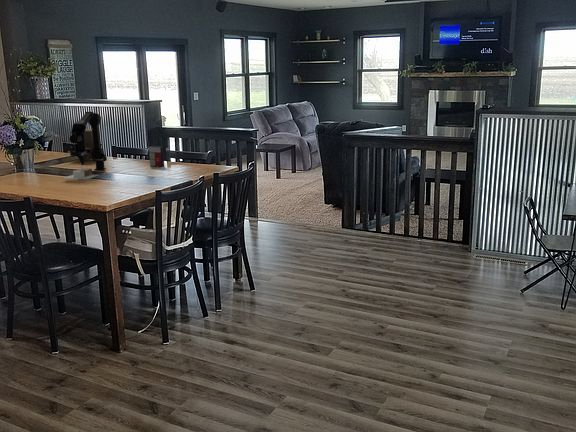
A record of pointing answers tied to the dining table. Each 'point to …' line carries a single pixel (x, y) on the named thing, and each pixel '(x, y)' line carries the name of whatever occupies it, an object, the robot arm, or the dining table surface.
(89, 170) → the walnut block
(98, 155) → the robot arm
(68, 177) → the mat
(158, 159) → the red and grey box
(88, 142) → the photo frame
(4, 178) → the dining table surface
